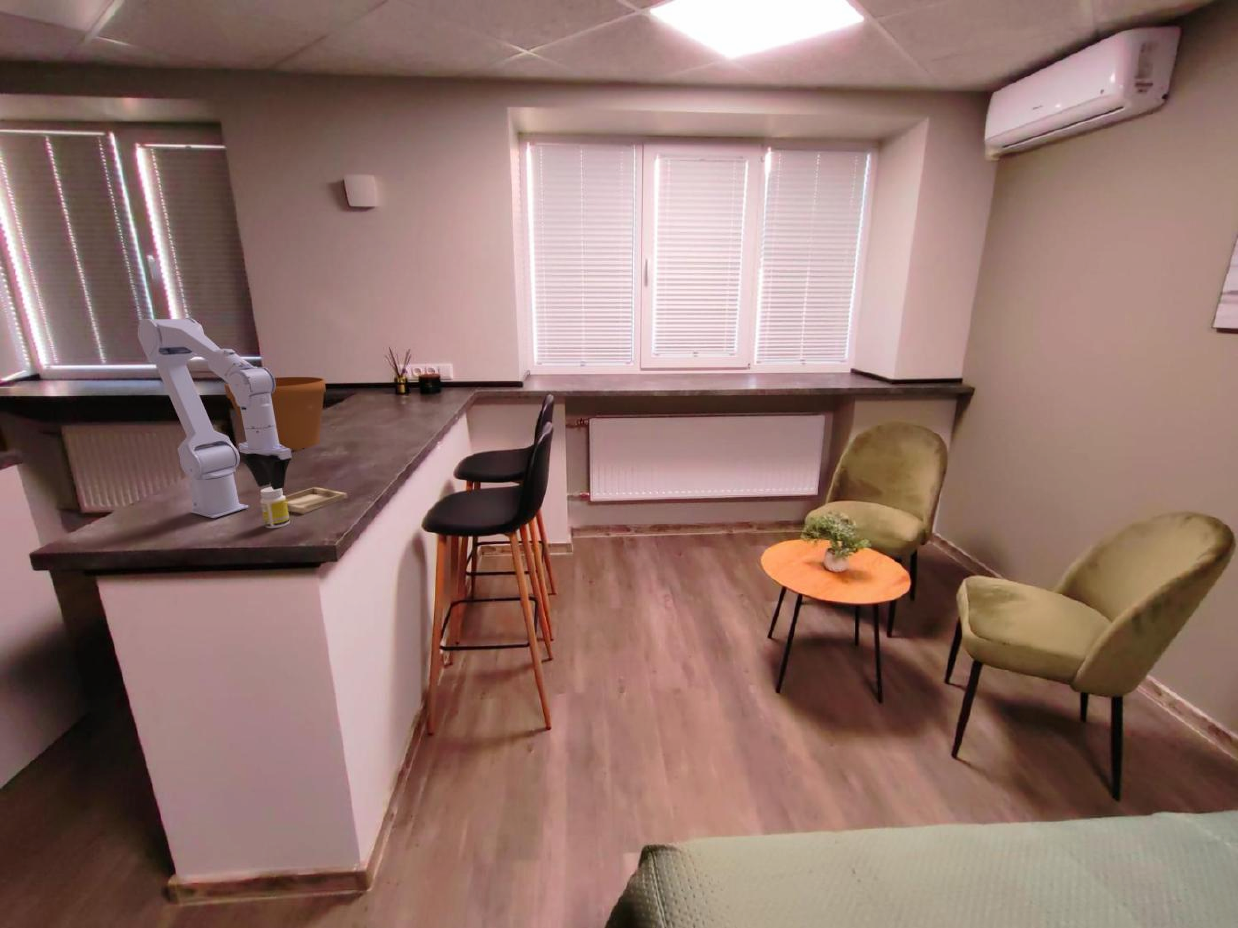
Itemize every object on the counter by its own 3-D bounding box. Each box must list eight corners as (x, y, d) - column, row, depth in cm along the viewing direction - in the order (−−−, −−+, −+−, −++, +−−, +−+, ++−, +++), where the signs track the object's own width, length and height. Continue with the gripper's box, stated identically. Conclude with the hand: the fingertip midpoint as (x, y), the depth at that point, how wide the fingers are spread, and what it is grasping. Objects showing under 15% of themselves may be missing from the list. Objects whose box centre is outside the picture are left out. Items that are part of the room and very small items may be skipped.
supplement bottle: (294, 520, 123) (288, 485, 120) (284, 528, 118) (277, 492, 116) (271, 521, 122) (265, 486, 120) (260, 529, 118) (253, 492, 115)
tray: (270, 507, 130) (269, 500, 130) (315, 493, 141) (314, 486, 140) (303, 515, 125) (302, 508, 125) (347, 499, 136) (346, 493, 135)
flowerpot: (291, 464, 167) (279, 388, 161) (216, 459, 173) (201, 386, 166) (351, 443, 194) (342, 378, 187) (285, 439, 199) (274, 376, 193)
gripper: (219, 426, 114) (231, 487, 117) (263, 433, 108) (274, 497, 111) (253, 420, 120) (264, 478, 123) (296, 426, 114) (306, 487, 118)
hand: (271, 486), depth 118 cm, fingers open, 4 cm apart
